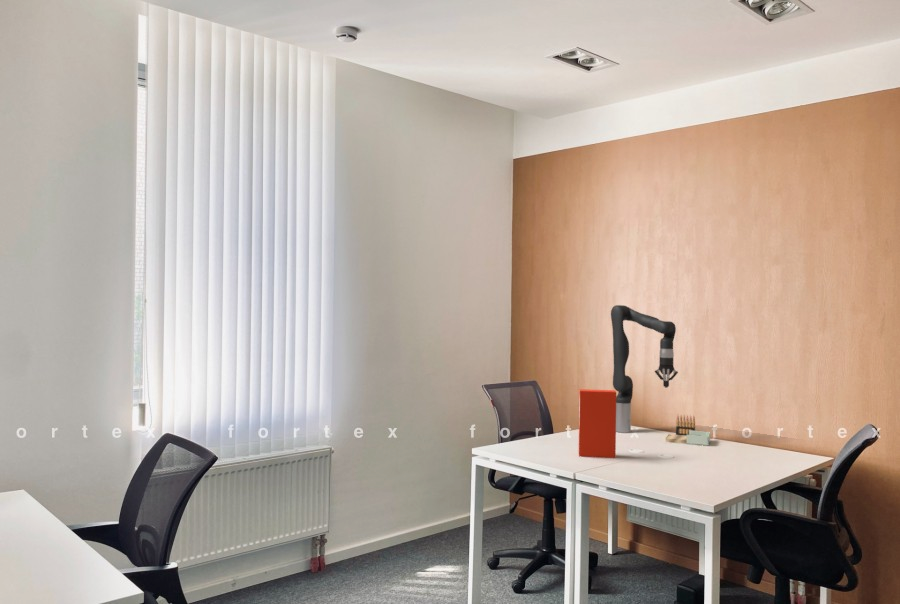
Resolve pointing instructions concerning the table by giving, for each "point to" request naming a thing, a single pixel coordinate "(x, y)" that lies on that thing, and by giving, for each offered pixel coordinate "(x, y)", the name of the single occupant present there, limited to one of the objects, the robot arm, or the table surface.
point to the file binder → (597, 423)
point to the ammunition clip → (685, 425)
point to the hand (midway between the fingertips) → (666, 387)
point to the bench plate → (676, 438)
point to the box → (698, 438)
